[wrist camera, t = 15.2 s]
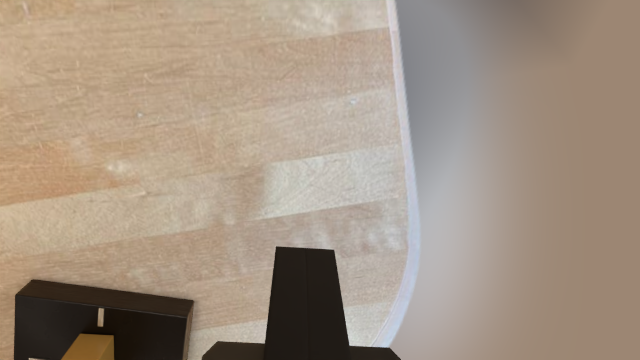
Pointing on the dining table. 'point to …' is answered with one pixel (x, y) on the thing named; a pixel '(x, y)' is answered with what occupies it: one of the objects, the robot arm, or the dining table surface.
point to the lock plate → (99, 322)
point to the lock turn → (91, 348)
